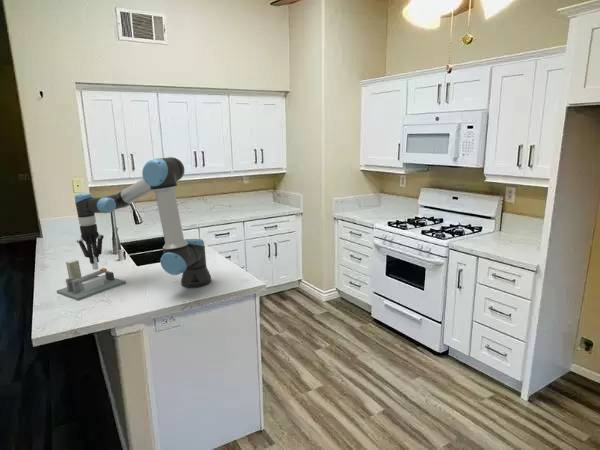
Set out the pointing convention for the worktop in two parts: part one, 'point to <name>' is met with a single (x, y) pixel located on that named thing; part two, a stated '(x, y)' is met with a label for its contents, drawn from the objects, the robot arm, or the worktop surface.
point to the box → (73, 269)
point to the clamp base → (93, 291)
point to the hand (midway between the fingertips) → (95, 269)
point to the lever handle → (92, 275)
